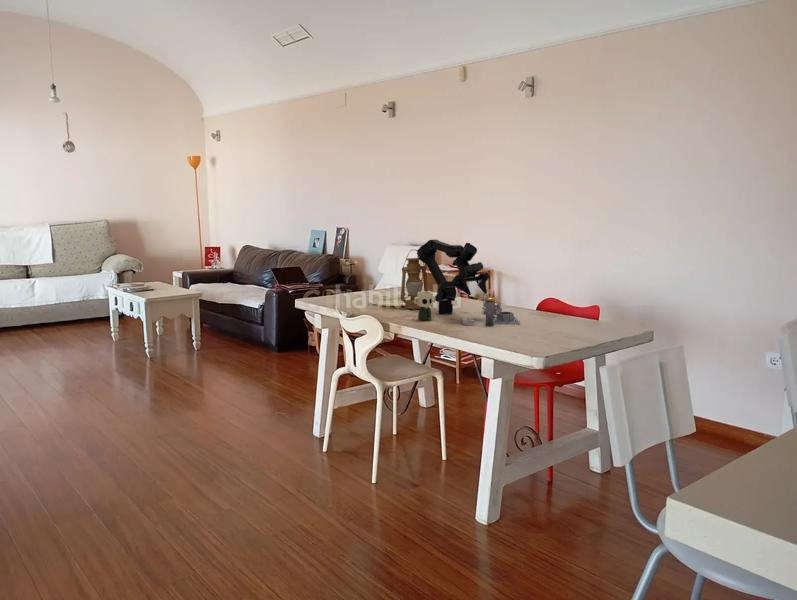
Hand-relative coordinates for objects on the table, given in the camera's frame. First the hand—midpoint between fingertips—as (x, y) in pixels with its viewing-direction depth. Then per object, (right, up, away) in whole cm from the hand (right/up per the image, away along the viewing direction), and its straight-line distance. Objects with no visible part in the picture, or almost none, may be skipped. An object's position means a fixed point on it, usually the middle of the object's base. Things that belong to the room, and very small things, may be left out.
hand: (478, 294), depth 294 cm
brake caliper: (+10, -9, +26) cm, 29 cm away
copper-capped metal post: (+4, -14, -5) cm, 16 cm away
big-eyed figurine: (-24, -12, +7) cm, 28 cm away
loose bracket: (-5, -13, -2) cm, 15 cm away
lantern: (-28, -7, +37) cm, 47 cm away
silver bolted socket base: (+13, -13, +4) cm, 18 cm away
